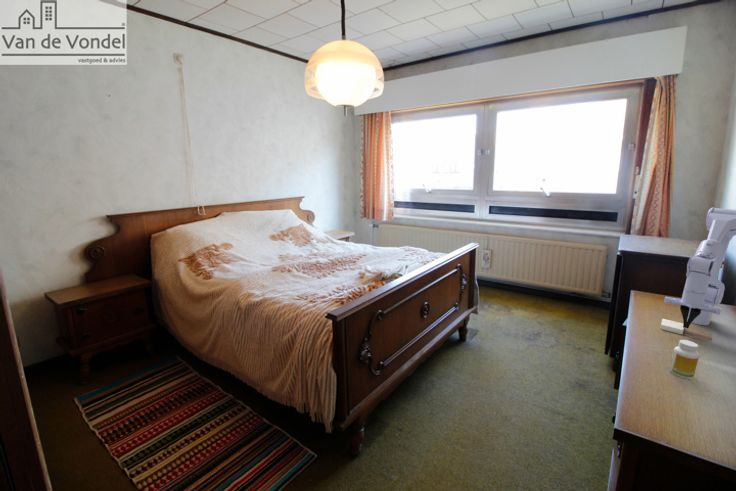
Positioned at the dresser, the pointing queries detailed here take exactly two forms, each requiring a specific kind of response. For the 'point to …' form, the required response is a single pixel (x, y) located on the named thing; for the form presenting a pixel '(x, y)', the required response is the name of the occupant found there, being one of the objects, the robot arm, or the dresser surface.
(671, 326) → the cream tile
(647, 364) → the dresser surface
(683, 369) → the supplement bottle
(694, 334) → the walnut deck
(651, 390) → the dresser surface
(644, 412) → the dresser surface
